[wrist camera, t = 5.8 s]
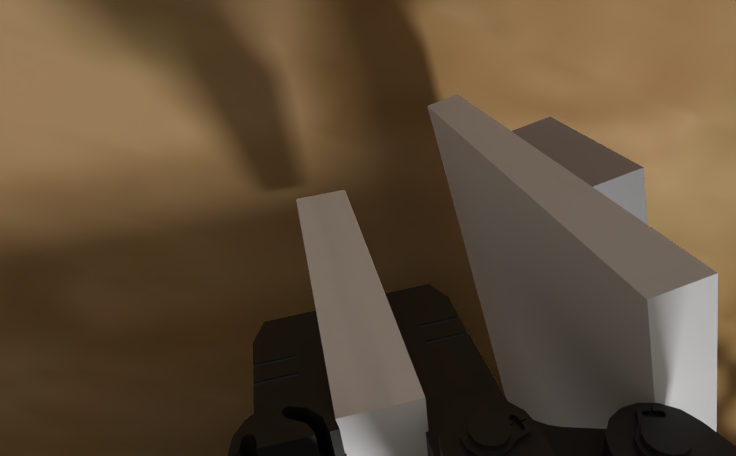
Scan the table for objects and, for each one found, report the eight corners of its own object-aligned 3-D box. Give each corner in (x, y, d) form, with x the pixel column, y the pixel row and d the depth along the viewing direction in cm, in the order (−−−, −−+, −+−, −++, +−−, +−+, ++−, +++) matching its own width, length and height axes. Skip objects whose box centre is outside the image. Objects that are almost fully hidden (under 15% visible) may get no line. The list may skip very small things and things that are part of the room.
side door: (419, 108, 13) (629, 306, 6) (495, 80, 13) (806, 239, 6) (505, 419, 19) (669, 728, 11) (559, 399, 19) (759, 694, 11)
